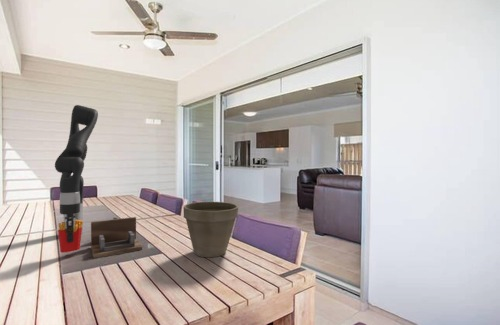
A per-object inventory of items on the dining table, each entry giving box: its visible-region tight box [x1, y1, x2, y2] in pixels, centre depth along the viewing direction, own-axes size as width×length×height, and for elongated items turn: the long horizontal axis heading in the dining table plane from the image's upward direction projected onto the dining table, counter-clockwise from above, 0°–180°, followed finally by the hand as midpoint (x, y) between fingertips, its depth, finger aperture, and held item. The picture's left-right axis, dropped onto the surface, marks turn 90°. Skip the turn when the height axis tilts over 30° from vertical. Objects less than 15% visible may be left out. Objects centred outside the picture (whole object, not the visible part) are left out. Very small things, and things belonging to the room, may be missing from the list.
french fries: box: [57, 220, 84, 253], centre depth 120 cm, size 9×4×13 cm, turn 140°
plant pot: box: [182, 201, 239, 258], centre depth 125 cm, size 25×25×22 cm
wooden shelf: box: [90, 216, 143, 259], centre depth 129 cm, size 17×20×12 cm
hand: (70, 240), depth 120 cm, fingers closed on french fries, 4 cm apart
